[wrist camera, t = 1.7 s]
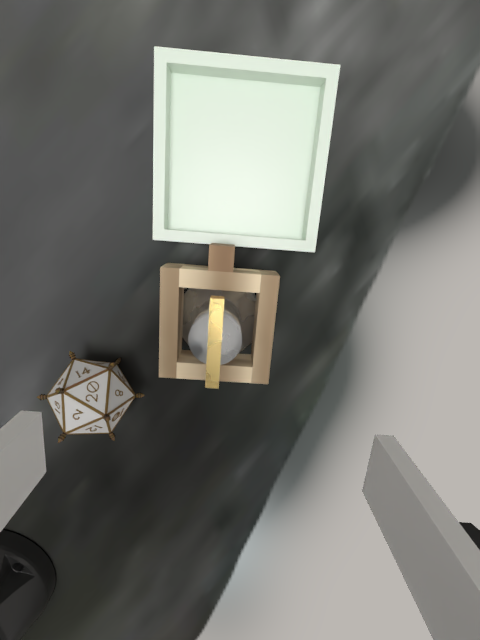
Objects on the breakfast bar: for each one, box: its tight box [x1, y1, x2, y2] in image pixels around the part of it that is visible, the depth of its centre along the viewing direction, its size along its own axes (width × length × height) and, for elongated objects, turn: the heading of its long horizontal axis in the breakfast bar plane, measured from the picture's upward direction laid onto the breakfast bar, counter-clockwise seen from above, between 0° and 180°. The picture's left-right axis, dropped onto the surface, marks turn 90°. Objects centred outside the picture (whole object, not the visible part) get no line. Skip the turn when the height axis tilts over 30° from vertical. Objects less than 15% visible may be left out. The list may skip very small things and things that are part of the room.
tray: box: [153, 46, 340, 252], centre depth 30 cm, size 15×15×2 cm
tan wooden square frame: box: [159, 243, 280, 384], centre depth 29 cm, size 10×12×3 cm
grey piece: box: [182, 288, 256, 389], centre depth 30 cm, size 8×8×12 cm
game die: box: [37, 351, 145, 443], centre depth 33 cm, size 9×8×10 cm
